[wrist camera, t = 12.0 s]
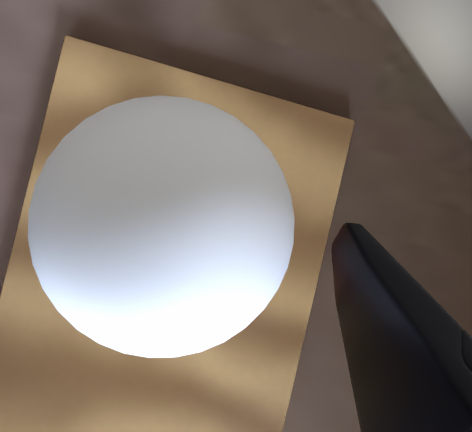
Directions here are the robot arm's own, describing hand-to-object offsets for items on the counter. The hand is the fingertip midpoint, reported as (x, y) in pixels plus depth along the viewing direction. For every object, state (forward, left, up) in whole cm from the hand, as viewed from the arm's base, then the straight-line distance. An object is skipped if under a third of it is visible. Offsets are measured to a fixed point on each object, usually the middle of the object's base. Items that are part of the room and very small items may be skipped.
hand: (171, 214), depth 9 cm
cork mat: (-3, 0, -8) cm, 9 cm away
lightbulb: (0, 0, -8) cm, 8 cm away
